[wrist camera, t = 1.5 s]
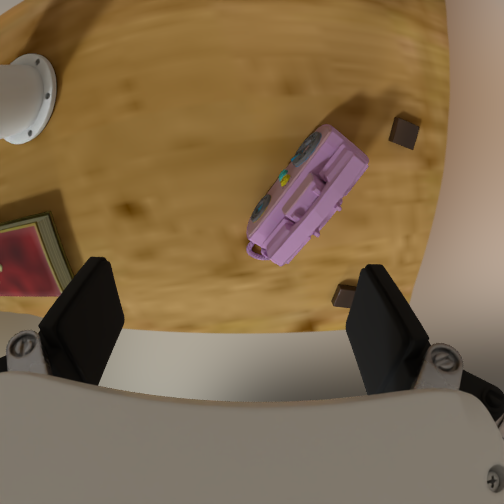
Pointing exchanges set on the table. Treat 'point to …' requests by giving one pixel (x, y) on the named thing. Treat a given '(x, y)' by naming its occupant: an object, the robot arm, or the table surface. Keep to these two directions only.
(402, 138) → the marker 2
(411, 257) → the table surface
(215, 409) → the robot arm
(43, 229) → the hardcover book
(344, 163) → the toy telephone
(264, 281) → the table surface
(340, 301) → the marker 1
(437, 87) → the table surface
